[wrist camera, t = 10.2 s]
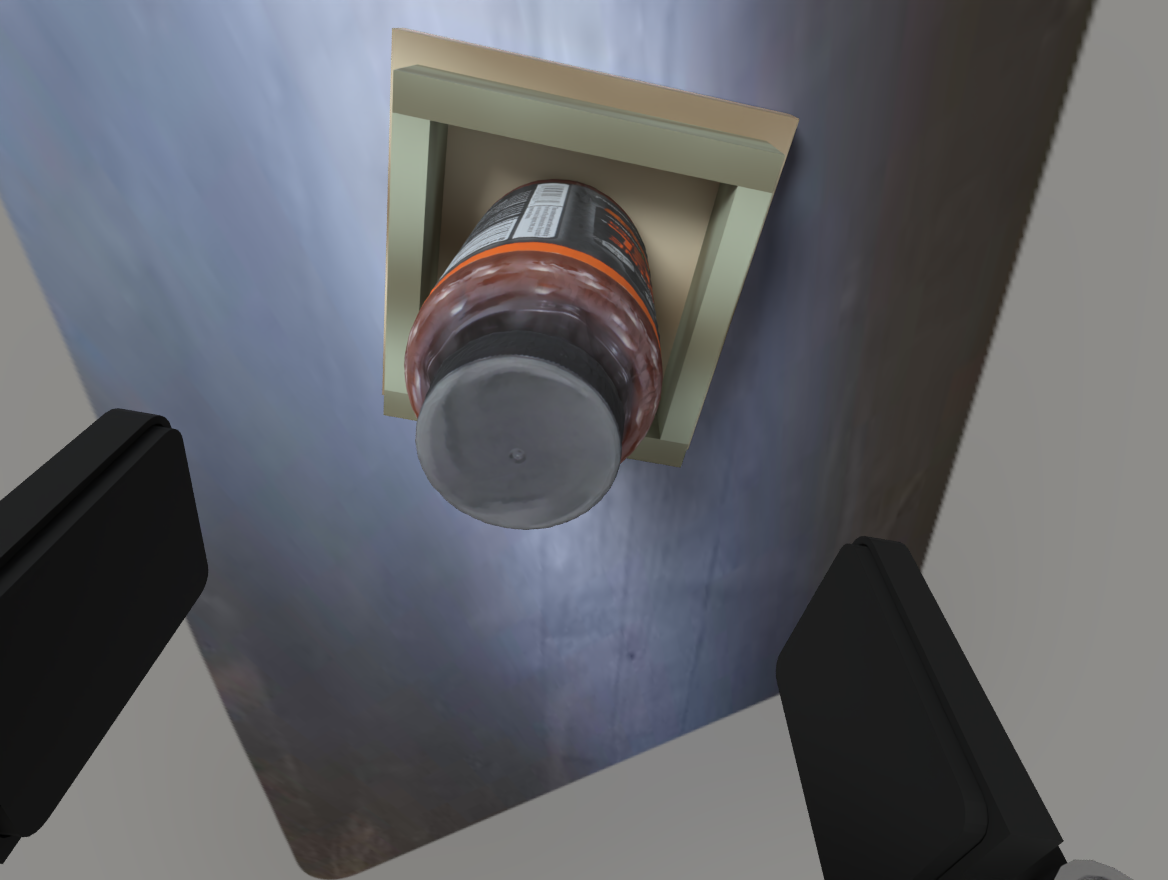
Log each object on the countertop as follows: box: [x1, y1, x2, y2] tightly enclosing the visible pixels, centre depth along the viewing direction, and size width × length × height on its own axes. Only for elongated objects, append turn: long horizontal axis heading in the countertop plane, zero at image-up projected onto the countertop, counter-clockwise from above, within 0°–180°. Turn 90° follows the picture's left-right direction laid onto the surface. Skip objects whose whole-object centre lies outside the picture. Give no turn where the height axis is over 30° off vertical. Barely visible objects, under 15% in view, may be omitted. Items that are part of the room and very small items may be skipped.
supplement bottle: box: [404, 179, 663, 530], centre depth 17 cm, size 6×6×11 cm
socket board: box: [382, 28, 799, 468], centre depth 21 cm, size 12×12×4 cm
